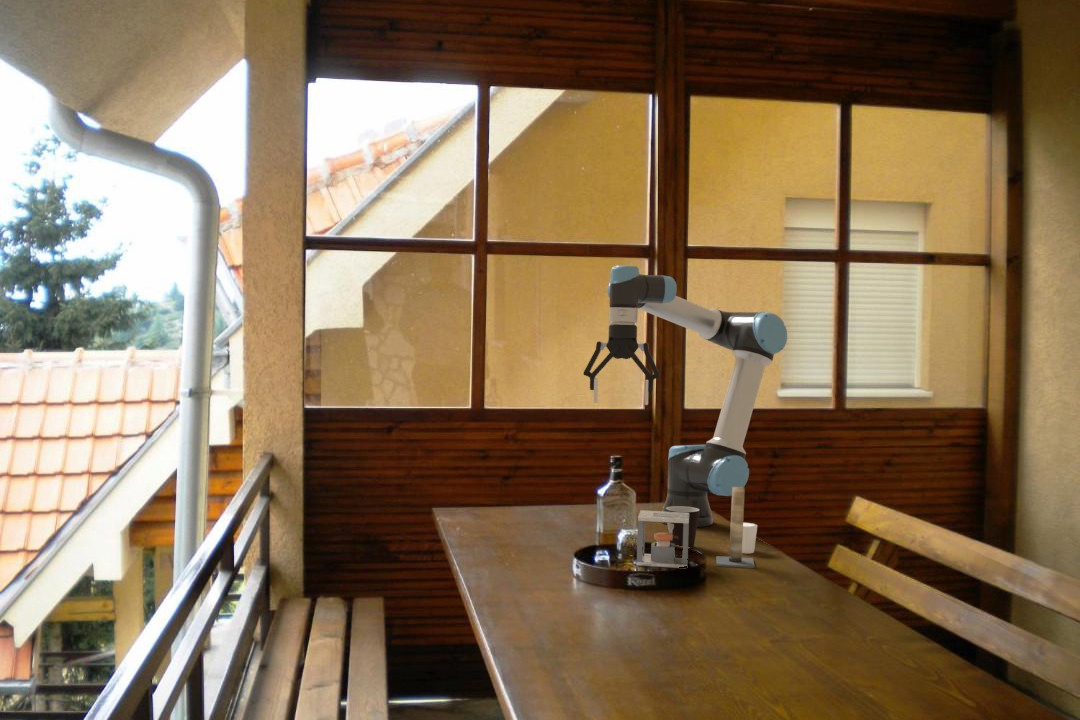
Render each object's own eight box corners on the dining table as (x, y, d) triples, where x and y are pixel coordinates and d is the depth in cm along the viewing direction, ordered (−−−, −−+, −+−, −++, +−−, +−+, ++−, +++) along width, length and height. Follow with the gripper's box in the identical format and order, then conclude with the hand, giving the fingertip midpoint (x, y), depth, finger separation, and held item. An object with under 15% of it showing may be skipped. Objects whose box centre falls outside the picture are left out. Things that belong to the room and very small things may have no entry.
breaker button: (654, 555, 255) (654, 532, 255) (672, 556, 254) (672, 533, 254) (653, 558, 250) (653, 535, 250) (671, 560, 250) (672, 536, 250)
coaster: (716, 558, 259) (716, 556, 259) (752, 560, 257) (752, 558, 257) (716, 566, 250) (716, 564, 250) (754, 568, 248) (754, 566, 248)
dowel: (728, 559, 255) (732, 486, 255) (741, 560, 255) (744, 487, 254) (729, 561, 252) (732, 488, 252) (741, 562, 252) (744, 488, 251)
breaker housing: (639, 556, 258) (640, 510, 258) (687, 559, 256) (689, 512, 256) (636, 565, 248) (638, 517, 248) (687, 568, 246) (688, 520, 246)
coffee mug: (700, 551, 266) (701, 512, 266) (666, 550, 267) (667, 511, 266) (694, 541, 278) (695, 504, 278) (662, 540, 278) (663, 503, 278)
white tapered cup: (749, 555, 263) (750, 527, 263) (724, 551, 267) (725, 524, 267) (761, 551, 269) (761, 524, 268) (736, 547, 273) (737, 520, 273)
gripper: (574, 322, 273) (572, 402, 274) (669, 325, 270) (667, 406, 270) (578, 322, 281) (576, 401, 281) (670, 325, 277) (668, 404, 278)
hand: (620, 403), depth 276 cm, fingers open, 13 cm apart
